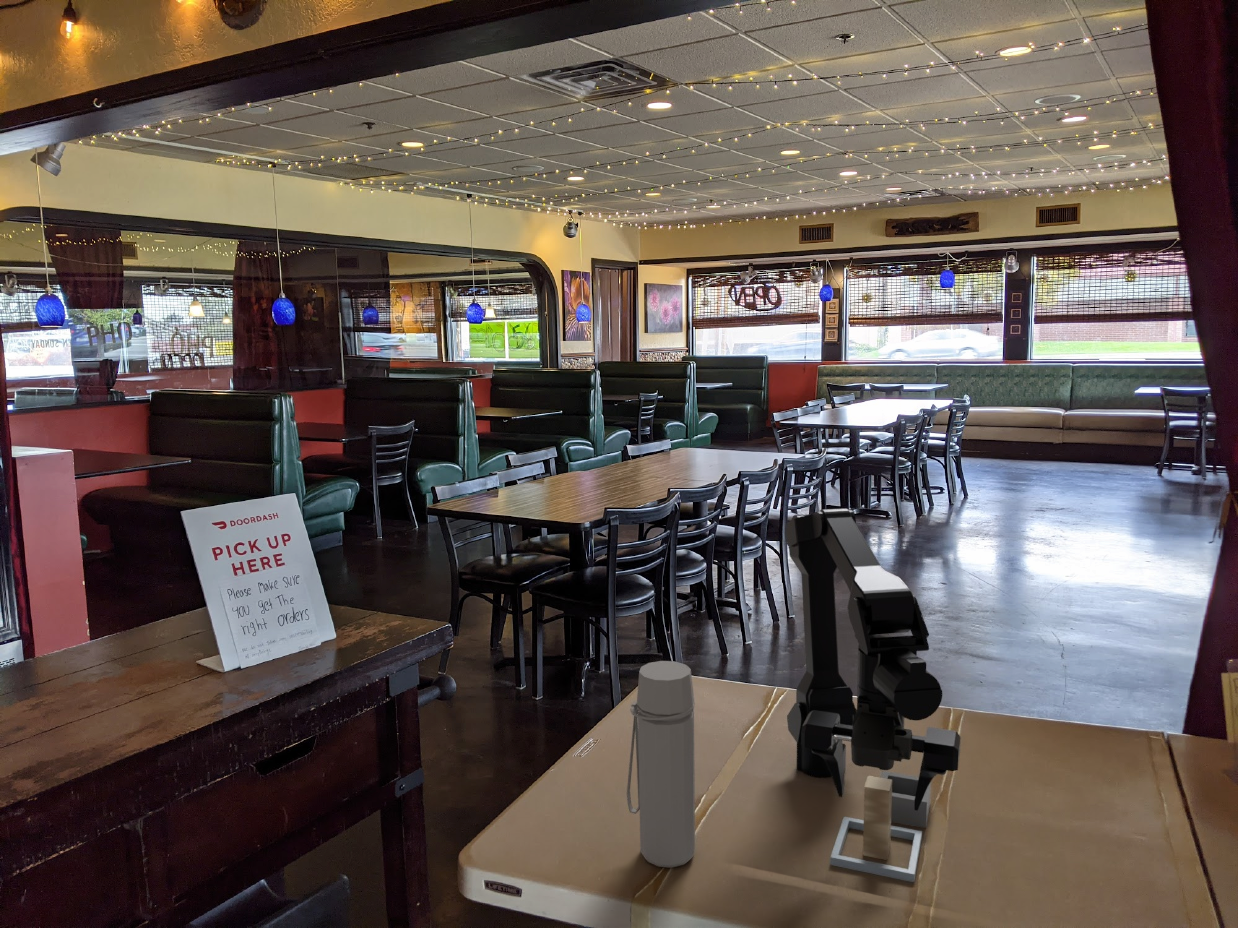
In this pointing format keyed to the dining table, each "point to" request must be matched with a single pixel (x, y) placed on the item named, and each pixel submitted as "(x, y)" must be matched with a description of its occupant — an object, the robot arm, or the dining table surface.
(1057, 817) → the dining table surface
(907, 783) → the block with square hole
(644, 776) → the water bottle
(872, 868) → the grey flat frame
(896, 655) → the robot arm
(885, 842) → the peg
